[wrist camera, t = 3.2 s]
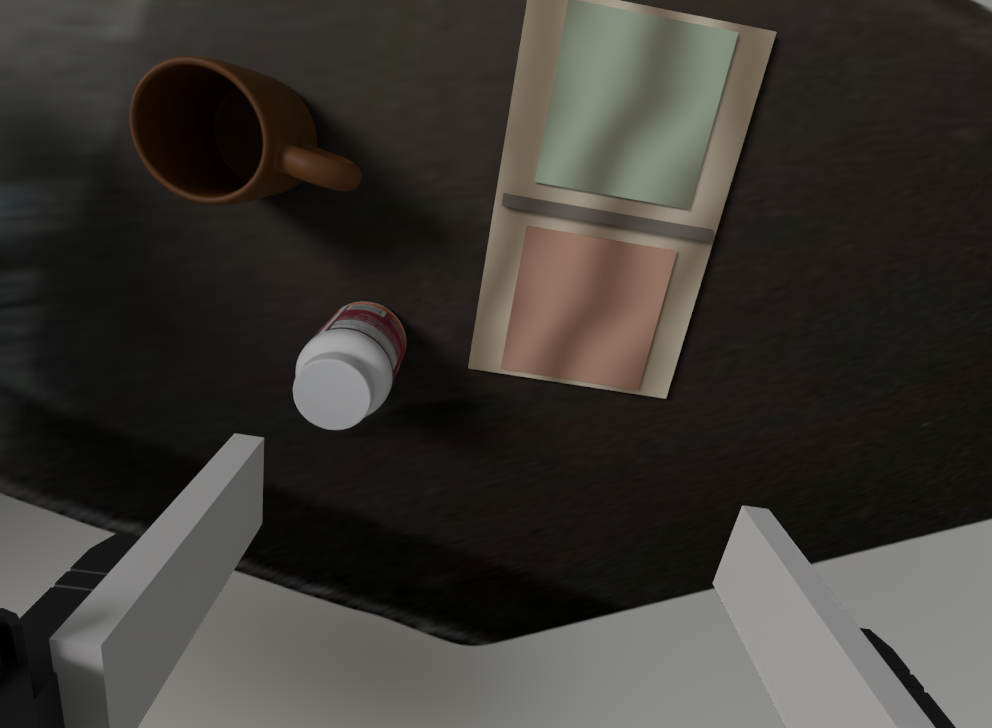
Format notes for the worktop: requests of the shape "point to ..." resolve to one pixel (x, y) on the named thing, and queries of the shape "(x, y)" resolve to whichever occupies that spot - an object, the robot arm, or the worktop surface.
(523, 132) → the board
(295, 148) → the mug
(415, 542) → the worktop surface
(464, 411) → the worktop surface
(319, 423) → the pill bottle
